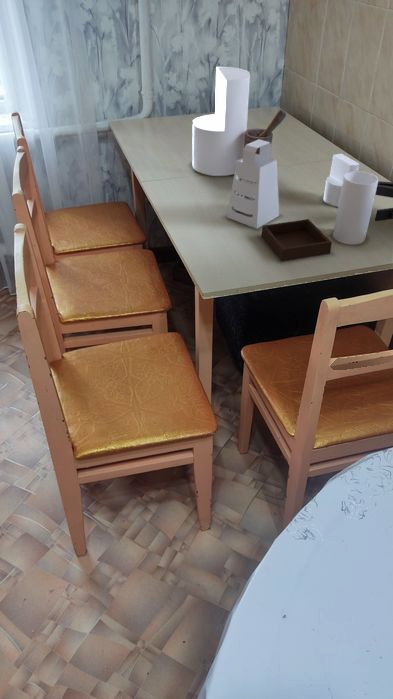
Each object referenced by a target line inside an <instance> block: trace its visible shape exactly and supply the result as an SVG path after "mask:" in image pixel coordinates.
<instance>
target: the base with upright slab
mask: <svg viewBox="0 0 393 699" xmlns="http://www.w3.org/2000/svg"><path fill="white" fill-rule="evenodd" d="M359 169H360V163H359V162H357V161H355V160H353V159H352V158H350V157H348V156H347V155H345V154H343V153H337V154H333V155H332V159H331V165H330V172H329V175H327V177H326V180H325V185H324V186H325V187H324V193H323V202H324V203H326V204H327V205H330V206H333V207H338V206H339V200H340V195H341V189H342V184H343V178H344V175H345V174H346V173H348V172H353V171H360V170H359Z"/></svg>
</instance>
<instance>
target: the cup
mask: <svg viewBox="0 0 393 699" xmlns="http://www.w3.org/2000/svg"><path fill="white" fill-rule="evenodd" d="M378 181H379V177H378V176H376V175H375V173H374V174H373V173H371V172H368V171H362V170H361V171H360V170H358V171H353V172H348V173H346V174H345V175H344V178H343V184H342V189H341V195H340V200H339V206H337V212H336V217H335V223H334V228H333V232H332V233H333V234H332V237H333V239H334V240H335V241H337V242H339V243H341V244H344V245H360V244H363V243H364V242H365V241H366V237H367V233H368V228H369V223H370V219H371V215H372V211H373V206H374V202H375V196H376V195H375V193H376V189H377V184H378Z"/></svg>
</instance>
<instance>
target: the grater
mask: <svg viewBox="0 0 393 699" xmlns="http://www.w3.org/2000/svg"><path fill="white" fill-rule="evenodd" d="M259 147H260V155H259V154H255V153H256V150H257V148H259ZM272 149H273V145H271V143H270V142H267V141H263V140H260V139H258V140H256V141H254V142H251V143H249V144H247V145H246V146H245V148H244V150H243V158H242V159H240V160H238V161H237V164H236V169H235V174H233V175H234V176H233V180H232V185H231V190H230V195H229V201H228V205H227V210H226V215H225V217H226V218H227V219H229V220H233V221H236V222H238V223H241V224H243V225H246V226H249V227H250V228H254V229H259V228H262V226H263V225H267V223H269V222H271V221H273V220H274V219H276V218H277V217H279V216H280V205H279V202H280V201H279V183H278V182H279V179H278V160H277V159H276V158H272V152H273V151H272ZM238 212H241V213H243V214H241V213H238ZM245 214H246V215H245ZM247 215H250V216H247ZM251 215H252V216H251Z"/></svg>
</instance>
